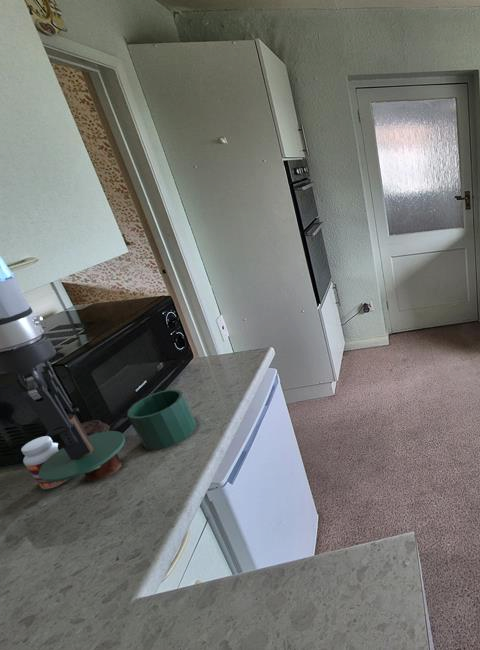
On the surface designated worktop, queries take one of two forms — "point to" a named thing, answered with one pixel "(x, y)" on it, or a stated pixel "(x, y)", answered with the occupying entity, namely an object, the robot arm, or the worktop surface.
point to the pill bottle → (39, 458)
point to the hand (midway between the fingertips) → (81, 449)
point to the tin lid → (101, 451)
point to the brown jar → (108, 466)
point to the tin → (162, 419)
